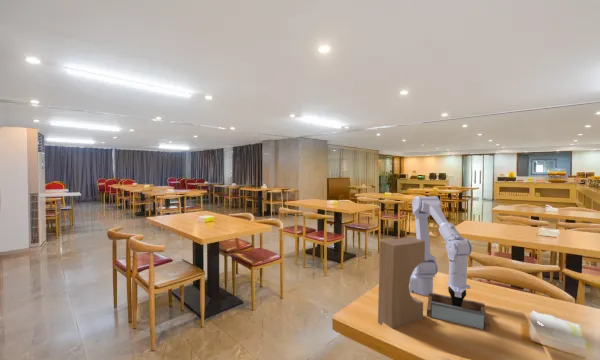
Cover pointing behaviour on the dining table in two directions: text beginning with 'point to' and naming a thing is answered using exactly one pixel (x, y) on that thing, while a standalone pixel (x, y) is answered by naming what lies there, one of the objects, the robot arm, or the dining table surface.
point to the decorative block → (399, 281)
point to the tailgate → (458, 315)
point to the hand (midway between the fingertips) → (456, 308)
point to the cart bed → (465, 304)
